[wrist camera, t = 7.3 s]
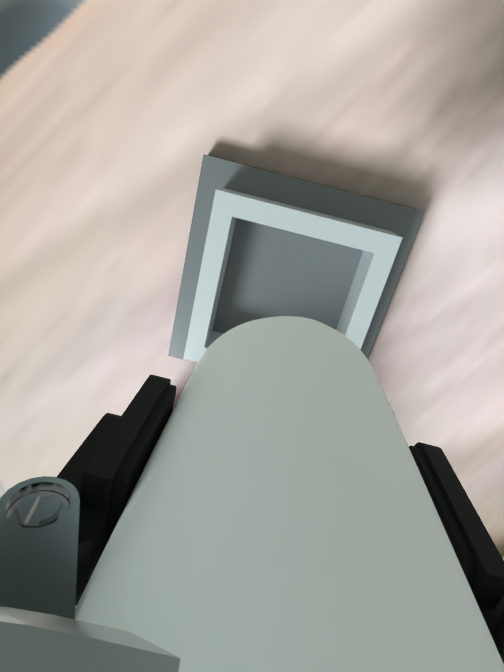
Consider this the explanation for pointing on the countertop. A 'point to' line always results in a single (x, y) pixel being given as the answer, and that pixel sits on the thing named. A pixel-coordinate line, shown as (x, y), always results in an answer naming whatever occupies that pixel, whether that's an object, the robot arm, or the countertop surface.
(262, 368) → the can
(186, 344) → the holder
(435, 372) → the countertop surface
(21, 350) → the countertop surface
